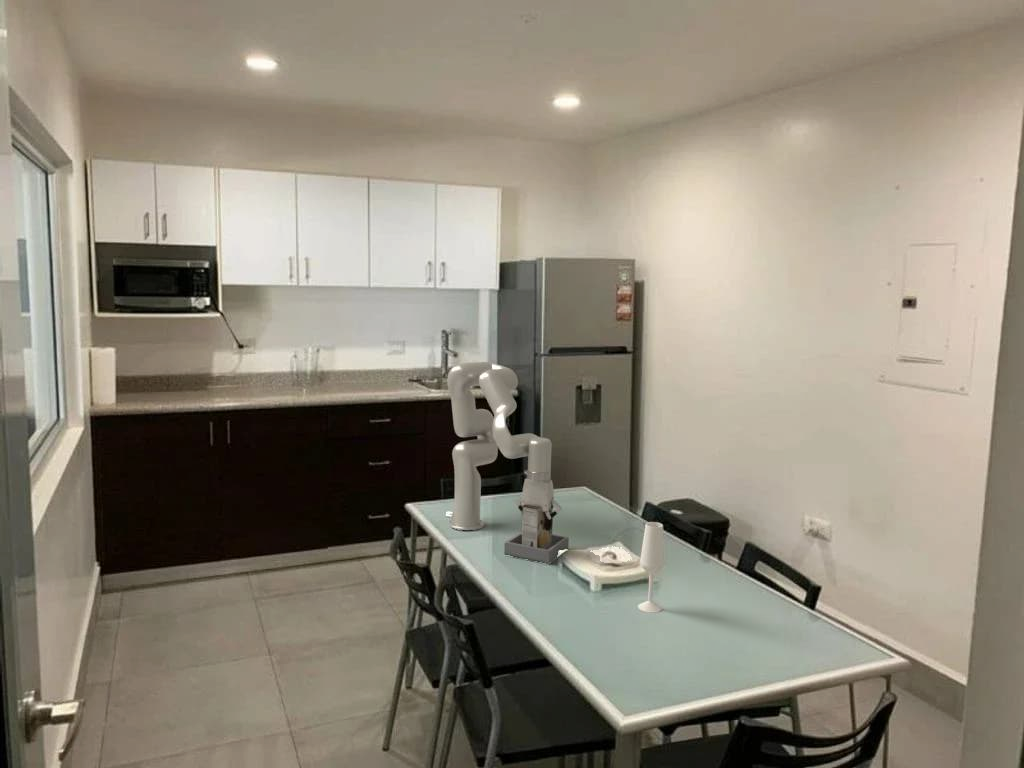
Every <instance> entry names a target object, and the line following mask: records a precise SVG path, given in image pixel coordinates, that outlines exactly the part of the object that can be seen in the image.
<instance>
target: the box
mask: <svg viewBox="0 0 1024 768" xmlns="http://www.w3.org/2000/svg"><path fill="white" fill-rule="evenodd" d="M569 539H570V538H569V536H565V535H559V534H553V533H552V547H551V548H549V549H548V550H546V549H541V548H536V547H531V546H526V545H522V531H521V532H519V533H517V534H516V535H513V537H511V538H509V539H507V540H506V541H505V542H504V549H503V550H504V552H503V554H505V555H510V556H513V557H512V558H514V557H517V558H516V559H518V558H522V559H521V560H523V559H528V560H533V561H537V562H536V563H538V562H542V563H546V564H545V565H547V564H549V563H550V562H552V561H553V560H554V559H555V558H557V555H558V551H559V550H564V549H568V550H569V544H570V543H569ZM557 559H558V558H557ZM528 560H527V561H528ZM533 561H532V562H533ZM554 561H555V560H554ZM554 561H553V562H554ZM553 562H552V563H553ZM542 563H541V564H542ZM550 564H551V563H550ZM550 564H549V565H550Z"/></svg>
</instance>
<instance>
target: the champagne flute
mask: <svg viewBox="0 0 1024 768" xmlns="http://www.w3.org/2000/svg"><path fill="white" fill-rule="evenodd" d="M644 525H645V526H644V531H643V532H644V533H643V539H642V546H641V547H642V548H641V554H640V559H639V560H640V561H639V562H640V563H639V564H640V565H641V568H642V569H643V570H644V571H645V572H646V574H648V576H649V578H648V592H647V593H648V595H647V596H648V597H647V600H646V601H643V602H642V603H639V604H638V605H637V608H638V609H639V610H641V611H643V612H644V613H659V612H661V611H662V610H663V608H662V606H661V605H660V604H658V603H656V602H655V601H653V599H654V598H653V594H654V593H653V592H654V578H655V577H654V576H655V575H656V574H658V573H659V572H660V571H662V569H664V566H665V563H666V562H665V544H664V539H665V538H664V525H663V524H662V523H661V522H657V521H656V522H655V521H649V522H648V521H647V522H646V523H645V524H644Z"/></svg>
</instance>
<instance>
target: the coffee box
mask: <svg viewBox="0 0 1024 768" xmlns="http://www.w3.org/2000/svg"><path fill="white" fill-rule="evenodd" d="M552 511H553V512H554V508H553V509H552ZM521 515H522V517H521V518H522V525H521V532H522V545H526V546H531V547H536V548H541V549H546V550H548V549H549V548H551V547H552V534H553V527H552V528H551V529H550V530H548V531H546V519H547V515H546V513H545V512H542V508H541V507H537V506H532V505H523V514H521Z"/></svg>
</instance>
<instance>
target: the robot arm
mask: <svg viewBox="0 0 1024 768" xmlns="http://www.w3.org/2000/svg"><path fill="white" fill-rule="evenodd" d="M446 379H447V381H446V382H447V389H448V392H449V395H450V399H451V401H450V402H451V411H452V421H453V429H454V433H455V434H456V436H458V437H460V438H470V437H471V438H472V437H477V439H471V440H470V439H469V440H464V441H461V442H459V443H457V444H456V445H455V446H454V447H453V449H452V452H451V455H452V461H453V463H452V464H453V466H454V467H453V469H454V502H453V503H454V505H453V507H454V508H453V509H454V510H453V511H452V510H451V511H450V510H447V511H446V513H445V518H446V519H447V518H448V519H451V520H450V522H449V526H450V528H451V529H453V528H454V530H456V529H457V530H456V531H462V530H473V531H478V530H481V529H483V528H484V527H485V522H484V520H482V519H481V500H482V498H481V495H482V494H481V492H482V491H481V489H482V478H481V474H480V473H479V471H478V469H477V467H479V466H485V465H488V464H491V463H494V462H495V461H496V460H497V458H498V453H499V452H498V450H499V451H500V453H501V454H502V455H503V457H504V458H507V459H511V460H513V459H519V458H523V457H527V469H526V470H525V469H524V475H526V478H525V479H524V482H523V486H522V495H521V496H520V497H519V498H517V499H515V501H514V502H515V504H516V506H517V507H518V509H519V511H520V512H521V515H523V505H532V506H537V507H541V508H542V512H545V513H546V515H547V519H546V531H548V530H550V529H551V528H552V529H553V521H554V520H553V519H554V517H555V516H557V514H559V513H560V511H561V510H562V508H563V507H562V506H561V505H560V504H559V502H557V501H556V500H555V491H554V484H553V480H552V479H551V476H552V475H551V471H552V470H551V469H552V468H551V467H552V446H553V445H552V441H551V440H550V438H547V437H540V436H538V435H536V434H534V433H530V432H528V433H520V434H515V435H514V434H513V435H512V434H511V432H510V430H509V428H508V426H507V422H506V421H507V417H509V416H510V415H512V414H513V413H514V412H515V411H516V409H517V407H518V406H517V402H516V400H515V398H514V397H513V394H512V392H513V391H515V390H516V389H517V387H518V384H519V379H518V376H517V374H516V373H515V371H514V370H513V369H511V368H509V367H507V366H504V365H500V364H498V363H495V362H491V361H479V362H478V361H475V362H463V363H459V364H455V365H454V366H453V367H451V369H450V370H449V372H448V373H447V378H446ZM470 387H480V389H481V391H482V393H483V395H484V398H485V399H486V400H487V401H486V402H487V403H488V406H489V407H490V409H491V411H492V413H493V414H492V413H491V411H489V410H488V409H484V408H478V409H477V407H476V399H475V396H474V394H473V392H472V391H471V390H470ZM493 415H494V416H493ZM552 509H553V511H552ZM477 529H478V530H477Z"/></svg>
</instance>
